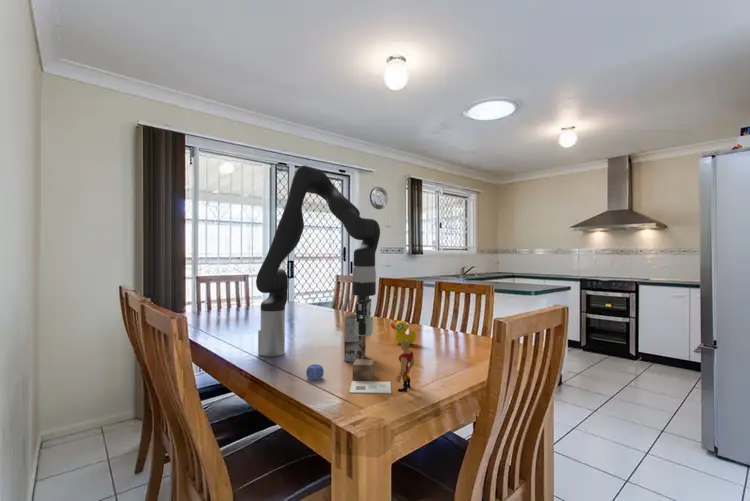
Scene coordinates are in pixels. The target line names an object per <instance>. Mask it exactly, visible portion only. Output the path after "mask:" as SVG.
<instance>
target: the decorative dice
mask: <svg viewBox="0 0 750 501" xmlns="http://www.w3.org/2000/svg"><path fill="white" fill-rule="evenodd" d="M305 371H306V372H305V374H306V377H307V379H308V380H309V381H320V380H321V379H322V378H323V376H324V367H323V366H322V365H321V364H317V363H313V364H309V365H308V367H307V368H306V370H305Z"/></svg>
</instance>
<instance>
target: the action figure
mask: <svg viewBox="0 0 750 501" xmlns="http://www.w3.org/2000/svg"><path fill="white" fill-rule="evenodd" d="M410 344H411V343H410V341H408V340H406V339H405V338H404V339H402V343H401V344H400V348H401V350H403V352H402V353H401V354H400V355H399V356H398V361H399V362H400V371H399V374H397V375H396V379H395V381H396V383H400V384H401V383H402V382H403V384H402V386H403V387H402V388H398V389H397V391H398V392H407V391H408V389H410V388H411V377H410V372H411V369H412V368H413V366H414V365H415V357H414V351H412V350H411V349H410V348H409V347H410ZM401 380H402V382H401Z"/></svg>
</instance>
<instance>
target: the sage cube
mask: <svg viewBox="0 0 750 501" xmlns="http://www.w3.org/2000/svg"><path fill="white" fill-rule="evenodd" d="M360 318H363V317H360ZM356 320H357V318H356V319H355V336H366V337H371V335H372V334H374V333H373V332H374V331H373V328H374V318H373V317H370V318H368V317H366V334H365V335H359V323H358V322H357V321H356Z"/></svg>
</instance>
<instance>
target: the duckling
mask: <svg viewBox="0 0 750 501" xmlns="http://www.w3.org/2000/svg"><path fill="white" fill-rule="evenodd" d="M390 327H391V329H392V330H396V332H395V334H394V338H395V341H396V342H397V343H398V344H400V345H401V343H402V339H404V338H405V339H406V340H408V341H410V344H413V343H414V342H415V341H416V338H417V333H416V331H415V330H414V329H411V330H410V331H409V334H407V333H406V332H407V331H408V329H409V327H410V325H409V324H408V323H407V322H406V321H404V320H399V321H397V322H396V323H393V322H391V323H390Z"/></svg>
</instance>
